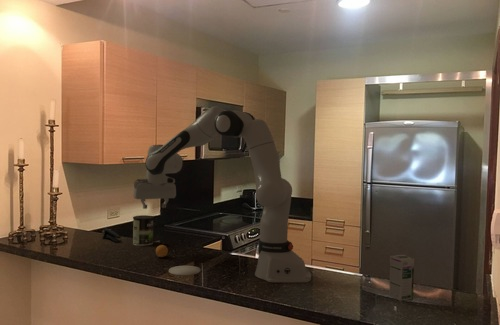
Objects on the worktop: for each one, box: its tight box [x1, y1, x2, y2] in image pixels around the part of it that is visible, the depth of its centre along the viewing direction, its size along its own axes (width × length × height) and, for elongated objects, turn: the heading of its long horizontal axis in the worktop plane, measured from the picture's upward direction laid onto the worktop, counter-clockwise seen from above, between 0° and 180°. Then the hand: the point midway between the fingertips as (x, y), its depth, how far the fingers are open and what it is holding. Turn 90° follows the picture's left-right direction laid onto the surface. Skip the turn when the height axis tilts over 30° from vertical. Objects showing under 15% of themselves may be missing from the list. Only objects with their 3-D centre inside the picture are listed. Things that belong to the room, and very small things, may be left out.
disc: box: [168, 265, 201, 276], centre depth 167 cm, size 13×13×1 cm
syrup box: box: [388, 254, 415, 302], centre depth 142 cm, size 6×6×14 cm
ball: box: [155, 244, 169, 258], centre depth 186 cm, size 6×6×6 cm
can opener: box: [101, 227, 122, 244], centre depth 218 cm, size 18×7×6 cm, turn 41°
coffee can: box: [132, 214, 155, 247], centre depth 211 cm, size 10×10×14 cm
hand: (154, 208), depth 192 cm, fingers open, 8 cm apart
